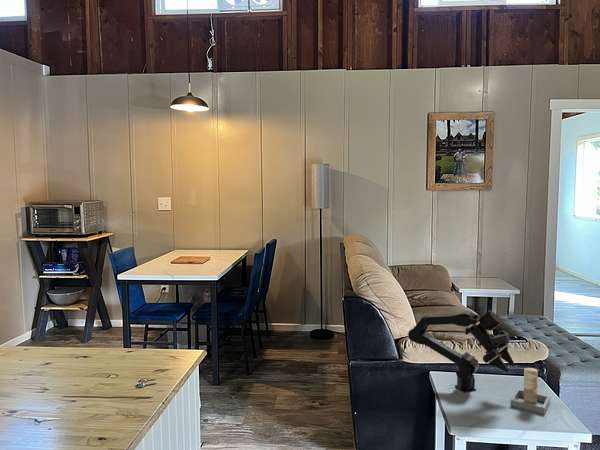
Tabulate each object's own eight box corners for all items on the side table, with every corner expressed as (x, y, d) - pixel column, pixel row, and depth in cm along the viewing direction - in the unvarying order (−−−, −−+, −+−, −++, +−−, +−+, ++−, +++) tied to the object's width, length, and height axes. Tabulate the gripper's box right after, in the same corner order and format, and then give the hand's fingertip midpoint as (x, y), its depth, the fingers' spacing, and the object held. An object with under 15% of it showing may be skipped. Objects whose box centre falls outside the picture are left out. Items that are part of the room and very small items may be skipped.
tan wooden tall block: (529, 407, 178) (530, 373, 177) (520, 402, 182) (521, 368, 182) (539, 406, 179) (540, 371, 178) (531, 400, 184) (531, 367, 183)
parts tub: (510, 405, 180) (510, 399, 179) (517, 394, 189) (517, 389, 189) (544, 414, 172) (544, 407, 172) (549, 402, 182) (549, 396, 182)
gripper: (491, 331, 179) (521, 364, 173) (503, 320, 194) (531, 350, 188) (470, 347, 184) (499, 379, 178) (484, 335, 199) (510, 365, 193)
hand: (510, 368), depth 184 cm, fingers open, 9 cm apart
